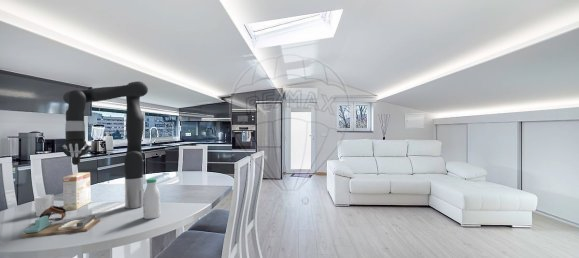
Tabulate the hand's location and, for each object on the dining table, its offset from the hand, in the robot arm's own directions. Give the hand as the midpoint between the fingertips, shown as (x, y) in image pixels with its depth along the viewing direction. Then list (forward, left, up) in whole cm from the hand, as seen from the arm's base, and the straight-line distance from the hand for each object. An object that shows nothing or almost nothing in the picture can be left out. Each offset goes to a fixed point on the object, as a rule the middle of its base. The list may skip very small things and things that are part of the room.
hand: (76, 164), depth 126 cm
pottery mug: (+14, -6, -29) cm, 33 cm away
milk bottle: (-35, +4, -29) cm, 46 cm away
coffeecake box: (+14, -32, -29) cm, 46 cm away
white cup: (+24, -20, -29) cm, 43 cm away
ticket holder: (0, +9, -29) cm, 30 cm away
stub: (+11, +9, -28) cm, 31 cm away
